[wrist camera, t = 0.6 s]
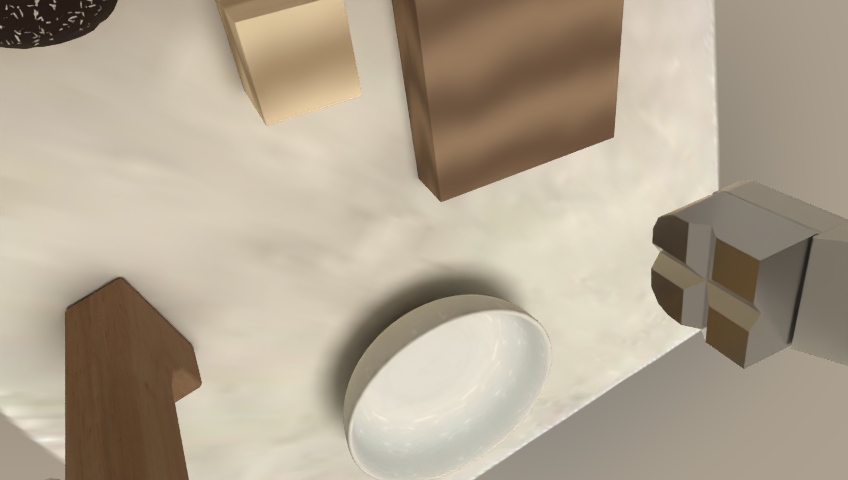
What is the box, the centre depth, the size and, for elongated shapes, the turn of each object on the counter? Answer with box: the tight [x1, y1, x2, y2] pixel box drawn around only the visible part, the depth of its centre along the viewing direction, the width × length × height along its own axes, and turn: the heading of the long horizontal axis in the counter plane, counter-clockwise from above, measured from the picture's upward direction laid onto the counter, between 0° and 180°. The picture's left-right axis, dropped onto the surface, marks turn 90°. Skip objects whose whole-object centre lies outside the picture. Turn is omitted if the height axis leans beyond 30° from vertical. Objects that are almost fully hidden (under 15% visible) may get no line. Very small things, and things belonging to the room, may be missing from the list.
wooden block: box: [65, 278, 202, 480], centre depth 40 cm, size 9×4×18 cm, turn 22°
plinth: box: [392, 0, 624, 202], centre depth 46 cm, size 16×16×4 cm
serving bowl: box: [343, 294, 552, 480], centre depth 60 cm, size 21×21×7 cm
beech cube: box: [216, 0, 362, 126], centre depth 38 cm, size 6×6×6 cm
